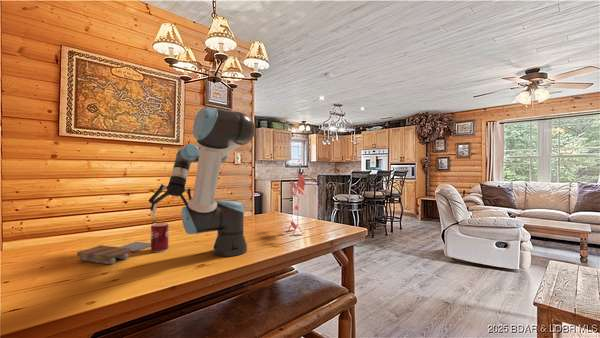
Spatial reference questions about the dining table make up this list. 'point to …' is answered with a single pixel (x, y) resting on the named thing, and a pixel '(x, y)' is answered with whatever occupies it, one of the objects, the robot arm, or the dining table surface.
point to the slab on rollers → (104, 254)
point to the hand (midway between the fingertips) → (167, 220)
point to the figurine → (300, 186)
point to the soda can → (159, 237)
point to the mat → (137, 246)
